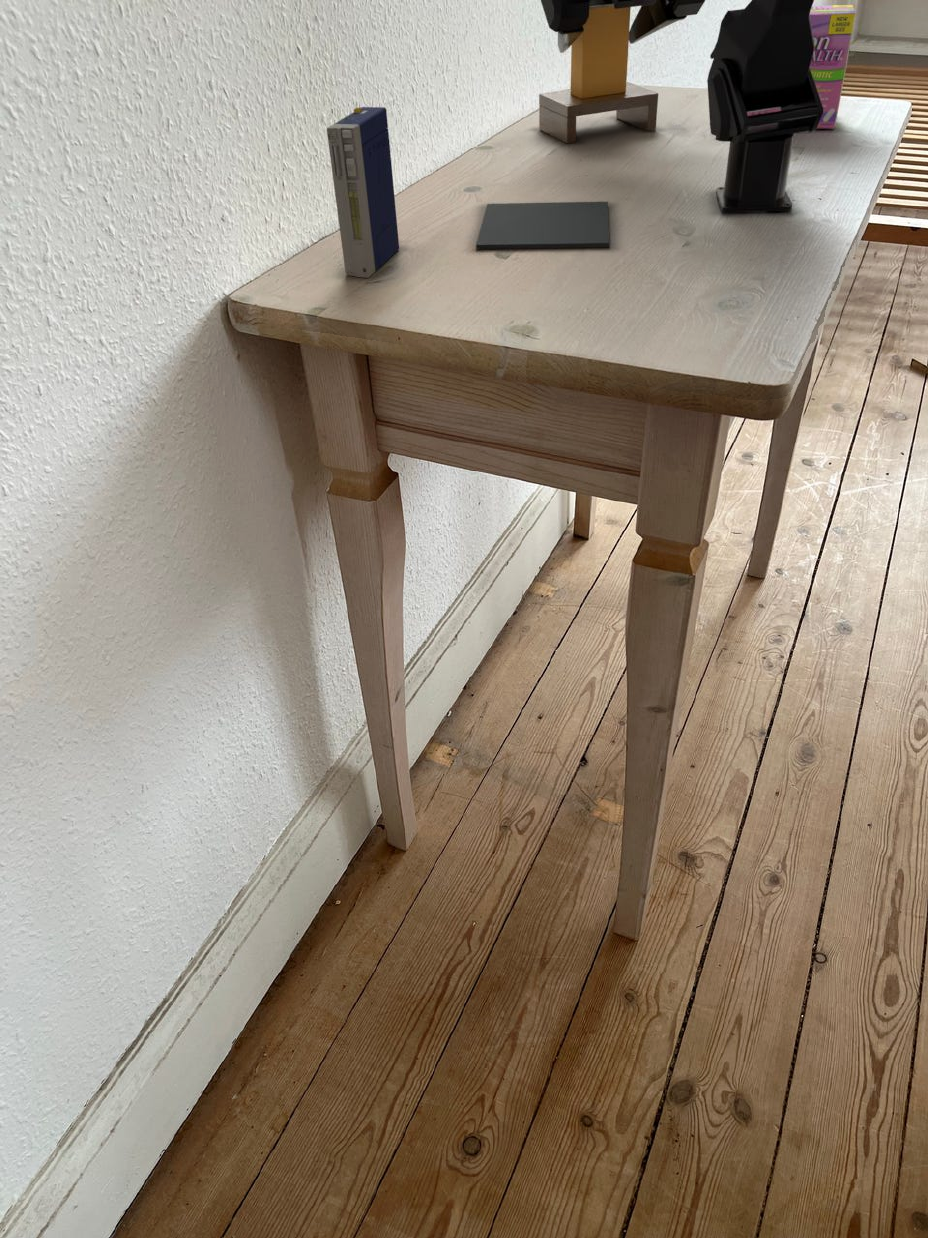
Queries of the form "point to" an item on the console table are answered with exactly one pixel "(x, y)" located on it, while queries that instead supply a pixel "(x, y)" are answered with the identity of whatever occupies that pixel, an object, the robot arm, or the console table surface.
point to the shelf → (596, 110)
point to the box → (829, 57)
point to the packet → (601, 54)
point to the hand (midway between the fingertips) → (595, 44)
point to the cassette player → (364, 189)
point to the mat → (545, 225)
